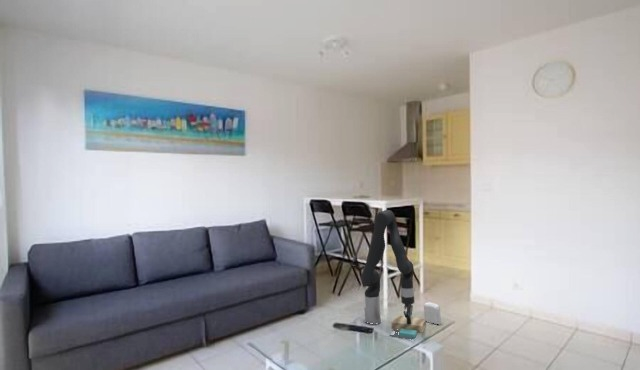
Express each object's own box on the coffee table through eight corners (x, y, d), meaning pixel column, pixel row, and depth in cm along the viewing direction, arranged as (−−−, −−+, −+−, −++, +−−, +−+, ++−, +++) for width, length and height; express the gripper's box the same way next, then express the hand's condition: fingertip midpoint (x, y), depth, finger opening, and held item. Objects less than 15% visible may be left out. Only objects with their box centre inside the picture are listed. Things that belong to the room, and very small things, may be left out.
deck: (392, 328, 216) (391, 322, 216) (397, 321, 226) (397, 315, 226) (421, 333, 207) (421, 326, 207) (426, 325, 218) (425, 318, 218)
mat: (389, 336, 205) (389, 335, 205) (393, 329, 214) (393, 329, 214) (411, 339, 199) (411, 339, 199) (415, 332, 208) (415, 332, 208)
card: (401, 328, 210) (401, 331, 210) (398, 332, 205) (399, 335, 205) (416, 330, 206) (417, 334, 206) (414, 334, 200) (414, 338, 200)
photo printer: (423, 321, 225) (422, 302, 225) (427, 319, 227) (426, 300, 227) (438, 325, 217) (437, 305, 217) (442, 323, 219) (440, 303, 219)
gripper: (404, 291, 218) (405, 319, 218) (398, 297, 206) (399, 327, 206) (416, 292, 214) (418, 320, 214) (411, 298, 203) (412, 329, 202)
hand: (409, 323), depth 210 cm, fingers closed
